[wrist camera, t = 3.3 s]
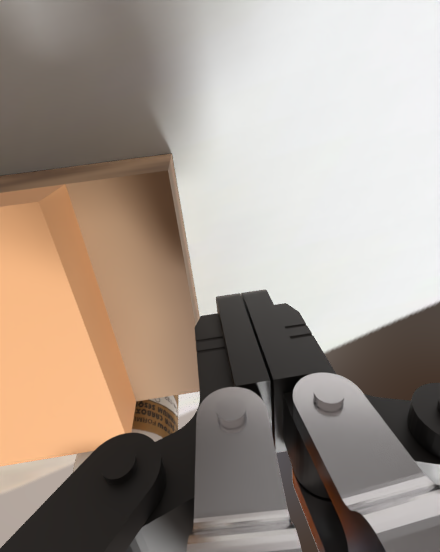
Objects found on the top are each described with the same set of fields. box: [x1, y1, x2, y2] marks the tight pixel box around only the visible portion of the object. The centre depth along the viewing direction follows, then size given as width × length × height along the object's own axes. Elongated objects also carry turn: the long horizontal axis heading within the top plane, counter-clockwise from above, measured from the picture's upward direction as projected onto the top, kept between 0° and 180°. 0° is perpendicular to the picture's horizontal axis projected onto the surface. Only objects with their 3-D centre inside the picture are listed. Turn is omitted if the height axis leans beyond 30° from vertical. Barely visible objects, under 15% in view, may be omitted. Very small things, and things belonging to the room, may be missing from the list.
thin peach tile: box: [0, 184, 136, 466], centre depth 11 cm, size 6×9×2 cm, turn 7°
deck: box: [0, 154, 200, 401], centre depth 13 cm, size 12×9×4 cm
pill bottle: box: [73, 395, 178, 472], centre depth 15 cm, size 4×4×8 cm
